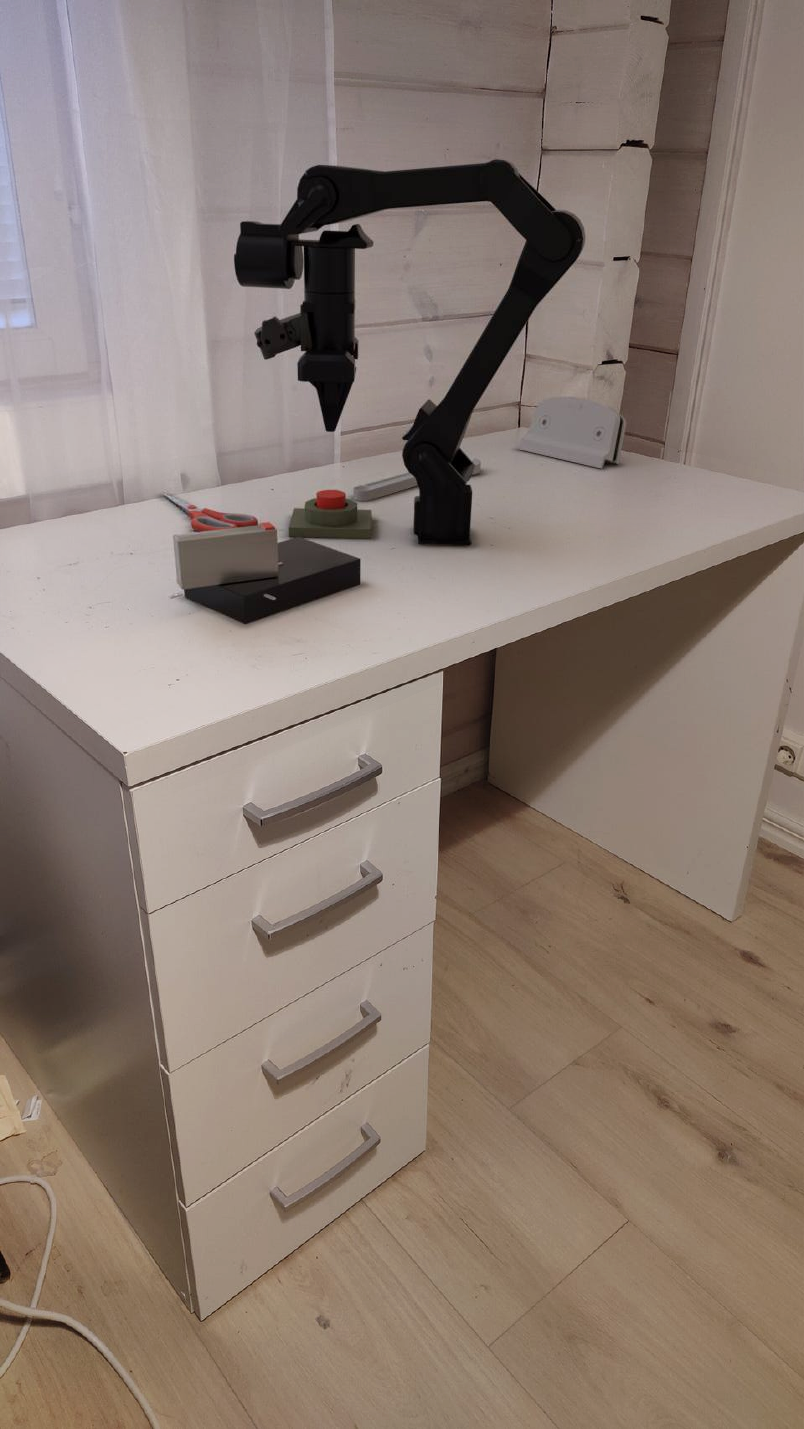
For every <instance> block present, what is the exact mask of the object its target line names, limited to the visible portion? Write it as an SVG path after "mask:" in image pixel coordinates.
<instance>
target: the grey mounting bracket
mask: <svg viewBox="0 0 804 1429" xmlns="http://www.w3.org/2000/svg"><path fill="white" fill-rule="evenodd" d="M626 428H627V421H626V418H625V417H624V416H623V415H622V414H620V413H619V412H618V411H616V410H614V409H613V408H611V407H609V406H607V405H606V404H603V403H602V402H599V401H596V400H594V399H589V398H585V397H577V396H554V397H549V398H545V399H541V400H540V402H539V403H538V404H537V406H536V410H535V411H534V414H533V417H532V421H531V422H530V424H529V427H528V428H527V429H528V430H527V432H526V434H525V435H523V436H522V437H521V439H520V442H519V446H518V450H520V451H523V452H527V453H528V452H529V453H532V454H537V455H541V456H546V457H551V458H555V459H559V460H563V461H568V462H572V463H575V464H580V465H584V466H587V467H592V468H597V469H603V468H604V465H605V462H607V463H611V464H617V465H619V464H620V460H621V454H622V449H623V444H624V443H623V442H624V439H625V438H624V437H625V433H626Z"/></svg>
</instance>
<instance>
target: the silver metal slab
mask: <svg viewBox="0 0 804 1429" xmlns="http://www.w3.org/2000/svg"><path fill="white" fill-rule="evenodd" d="M172 538H173V539H172V540H173V552H174V564H175V565H174V566H175V575H176V583H177V585H178V586H179V587H180V589H181V590H183V591H184V589H191V588H198V587H205V586H213V585H220V584H228V583H235V582H242V581H250V580H257V579H265V578H272V577H278V576H279V570H278V543H279V542H278V529H277V528H276V527H275V525H273V523H271V522H270V521H267V522H266V521H265V522H260V523H259V524H258V525H257V526H248V527H239V528H230V529H221V530H212V531H204V532H198V531H196V532H187V533H178V534H173V535H172Z"/></svg>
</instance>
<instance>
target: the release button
mask: <svg viewBox="0 0 804 1429" xmlns="http://www.w3.org/2000/svg"><path fill="white" fill-rule="evenodd" d="M346 496H347V495H346V492H345V491H342V490H338V489H323V490H320V491H317V492H316V498H317V507H318V508H322V509H341V508H345V507H346V499H347V498H346Z"/></svg>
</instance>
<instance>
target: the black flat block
mask: <svg viewBox="0 0 804 1429" xmlns="http://www.w3.org/2000/svg"><path fill="white" fill-rule="evenodd" d="M361 563H362V560H361V558H359V557H357V556H354V555H351V554H348V553H345V552H343V551H340V550H337V549H335V548H331V547H328V546H326V545H323V544H321V543H317V542H315V541H312V540H309V539H307V538H305V537H292V538H290V539H285V540H282V541H279V542H278V570H279V576H278V577H272V578H265V579H257V580H250V581H242V582H235V583H228V584H220V585H213V586H205V587H198V588H191V589H183V593H182V592H179V593H175V594H172V595H169V596H168V598H169V599H171V600H172V599H176V598H178V597H181V596H184V598H185V599H188V600H191V601H192V602H195V603H197V604H199V605H201V606H204V607H206V608H208V609H210V610H213V611H215V612H217V613H219V614H221V615H223V616H225V617H228V618H230V619H232V620H235V621H237V622H239V623H241V624H243V625H248V624H251V623H254V622H256V621H260V620H262V619H265V618H268V617H270V616H274V615H277V614H279V613H283V612H285V611H288V610H291V609H294V608H298V607H300V606H303V605H307V604H309V603H313V602H314V601H317V600H320V599H324V598H326V597H329V596H332V595H335V594H338V593H340V592H343V591H346V590H349V589H352V588H355V587H358V586H361V571H362V570H361V568H362V567H361V566H362V565H361Z"/></svg>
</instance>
